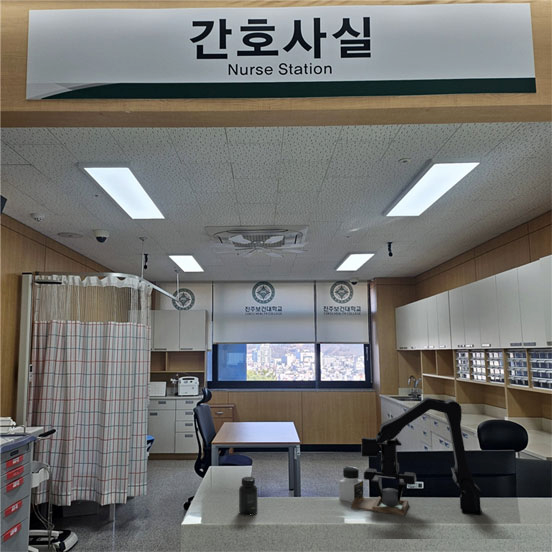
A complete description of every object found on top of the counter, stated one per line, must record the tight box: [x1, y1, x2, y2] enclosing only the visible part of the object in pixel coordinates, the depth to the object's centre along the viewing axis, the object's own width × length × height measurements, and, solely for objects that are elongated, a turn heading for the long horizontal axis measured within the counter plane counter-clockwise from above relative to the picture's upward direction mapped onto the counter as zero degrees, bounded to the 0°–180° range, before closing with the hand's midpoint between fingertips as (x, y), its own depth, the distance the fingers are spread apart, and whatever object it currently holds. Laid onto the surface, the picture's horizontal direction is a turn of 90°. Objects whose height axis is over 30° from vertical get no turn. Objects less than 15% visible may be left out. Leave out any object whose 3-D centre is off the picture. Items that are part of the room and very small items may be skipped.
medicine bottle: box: [338, 466, 364, 503], centre depth 193 cm, size 7×7×12 cm
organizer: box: [350, 496, 409, 516], centre depth 183 cm, size 19×11×2 cm, turn 67°
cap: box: [382, 487, 399, 506], centre depth 182 cm, size 6×6×5 cm
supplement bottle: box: [238, 476, 259, 516], centre depth 179 cm, size 7×7×12 cm
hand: (390, 500), depth 182 cm, fingers closed on cap, 6 cm apart
